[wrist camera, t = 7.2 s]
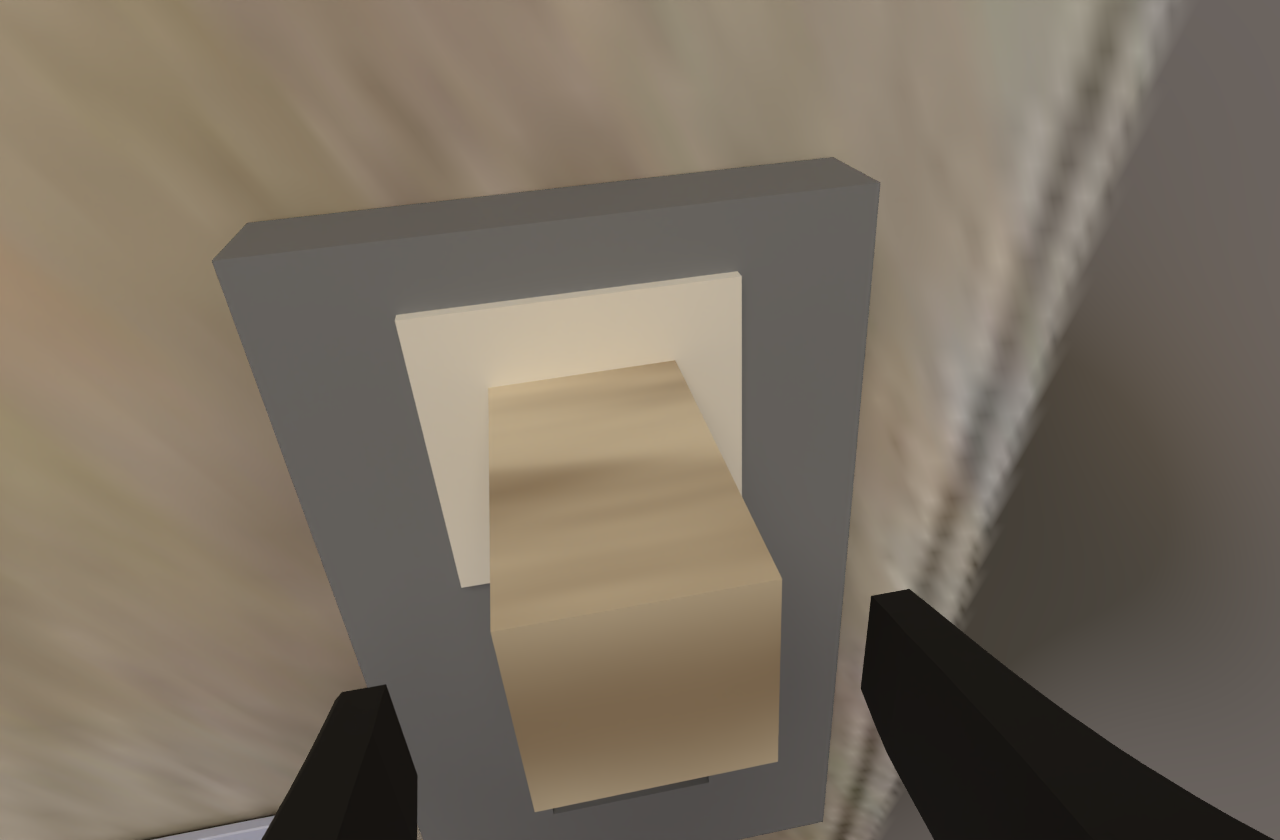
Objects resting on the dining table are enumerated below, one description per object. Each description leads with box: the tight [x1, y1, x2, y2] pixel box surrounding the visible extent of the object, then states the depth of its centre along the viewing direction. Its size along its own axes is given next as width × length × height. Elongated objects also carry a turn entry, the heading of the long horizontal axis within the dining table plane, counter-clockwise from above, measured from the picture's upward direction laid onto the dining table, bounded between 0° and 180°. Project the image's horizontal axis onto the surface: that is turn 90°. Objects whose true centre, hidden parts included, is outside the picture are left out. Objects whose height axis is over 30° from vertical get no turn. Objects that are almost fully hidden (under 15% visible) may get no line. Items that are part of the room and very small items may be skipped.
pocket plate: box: [212, 157, 880, 840], centre depth 22 cm, size 22×13×3 cm, turn 4°
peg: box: [488, 360, 782, 812], centre depth 14 cm, size 4×4×7 cm
